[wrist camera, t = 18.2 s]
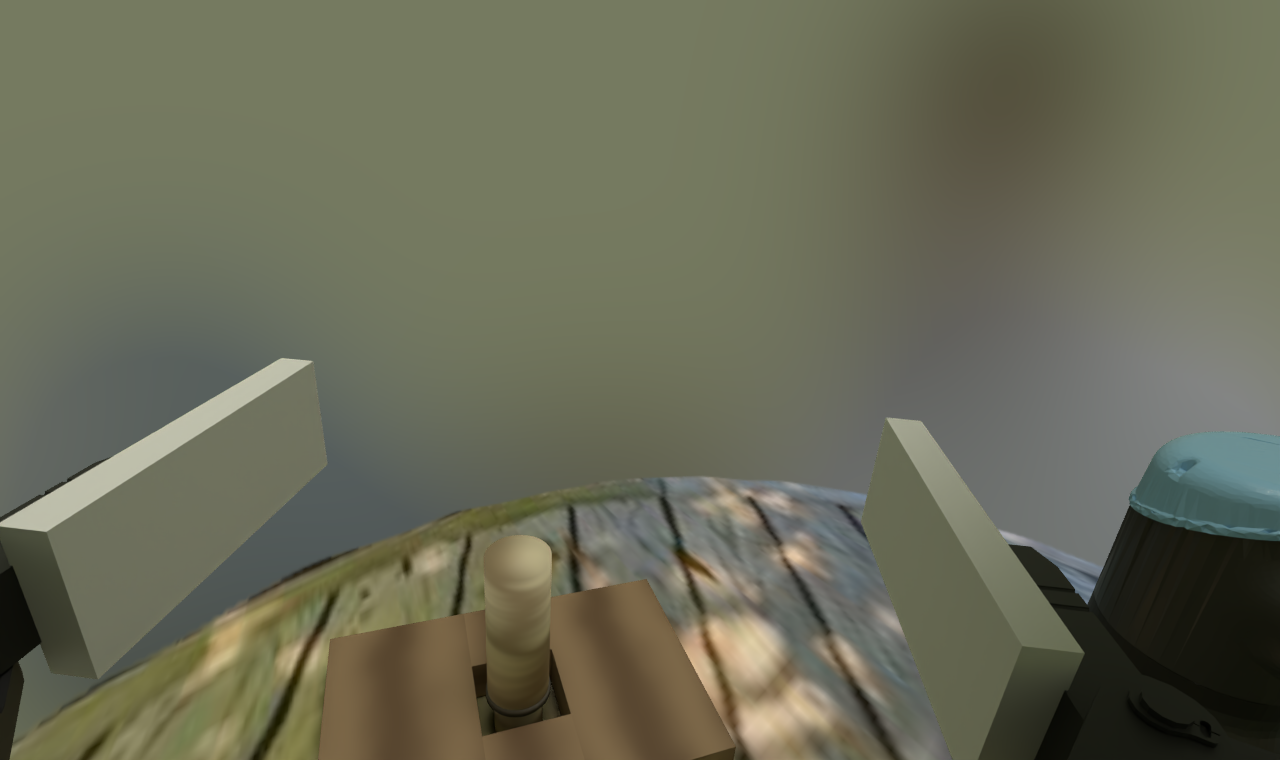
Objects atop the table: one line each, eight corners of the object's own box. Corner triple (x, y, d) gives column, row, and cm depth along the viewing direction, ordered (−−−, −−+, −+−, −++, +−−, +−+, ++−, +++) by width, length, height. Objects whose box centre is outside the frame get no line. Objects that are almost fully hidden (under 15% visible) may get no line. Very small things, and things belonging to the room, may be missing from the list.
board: (644, 607, 55) (646, 579, 54) (729, 779, 41) (735, 746, 40) (335, 670, 47) (330, 639, 46) (314, 910, 33) (306, 874, 32)
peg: (542, 690, 47) (545, 529, 41) (555, 740, 43) (560, 572, 38) (483, 704, 45) (477, 539, 40) (491, 757, 42) (487, 584, 36)
